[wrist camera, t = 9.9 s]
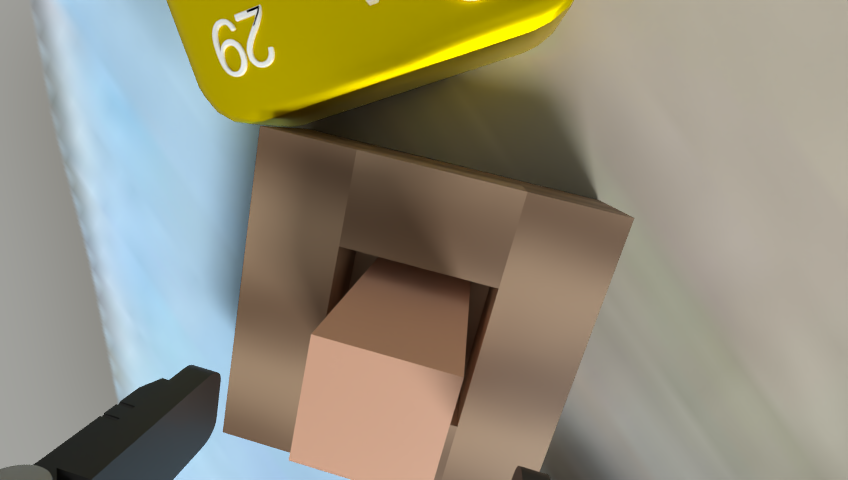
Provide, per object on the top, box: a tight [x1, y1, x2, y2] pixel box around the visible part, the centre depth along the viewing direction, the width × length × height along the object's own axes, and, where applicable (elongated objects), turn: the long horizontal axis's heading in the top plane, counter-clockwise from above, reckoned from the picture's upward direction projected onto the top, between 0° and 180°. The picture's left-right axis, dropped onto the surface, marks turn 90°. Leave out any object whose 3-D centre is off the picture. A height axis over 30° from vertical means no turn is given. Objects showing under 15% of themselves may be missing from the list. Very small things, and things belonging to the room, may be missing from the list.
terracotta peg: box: [289, 257, 471, 480], centre depth 16 cm, size 4×4×8 cm
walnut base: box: [223, 126, 634, 480], centre depth 19 cm, size 14×14×4 cm
